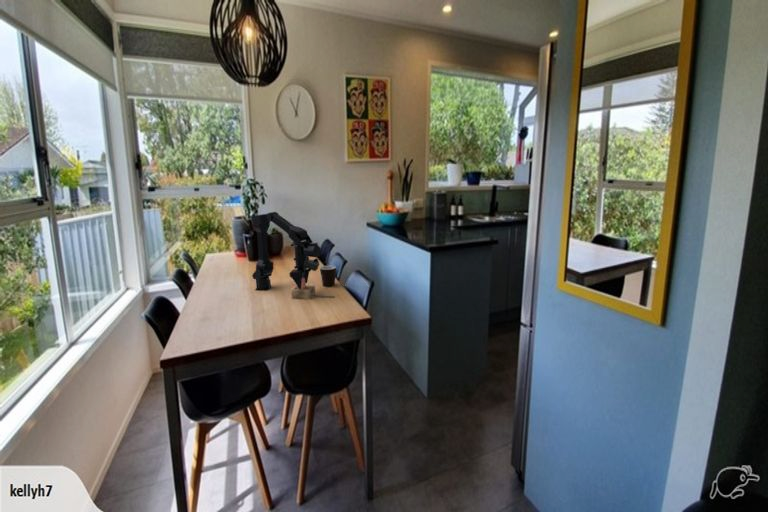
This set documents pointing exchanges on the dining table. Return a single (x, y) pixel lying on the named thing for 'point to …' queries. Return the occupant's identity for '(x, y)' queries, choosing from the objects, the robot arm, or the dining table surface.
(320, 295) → the blue gray square bar
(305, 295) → the brown square holed block
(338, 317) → the dining table surface
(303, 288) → the reddish pink rod
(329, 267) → the coffee mug
